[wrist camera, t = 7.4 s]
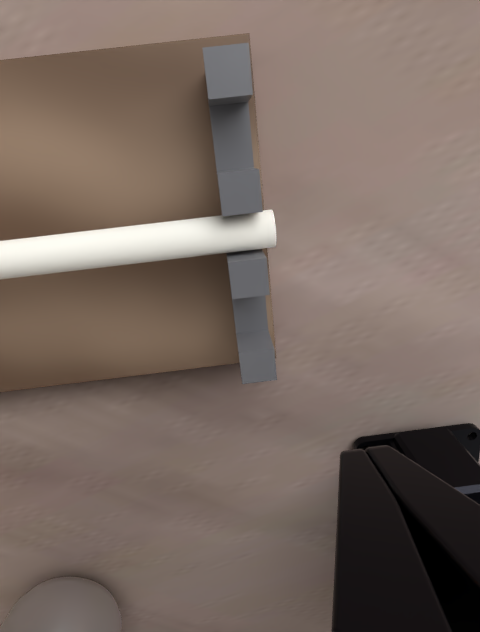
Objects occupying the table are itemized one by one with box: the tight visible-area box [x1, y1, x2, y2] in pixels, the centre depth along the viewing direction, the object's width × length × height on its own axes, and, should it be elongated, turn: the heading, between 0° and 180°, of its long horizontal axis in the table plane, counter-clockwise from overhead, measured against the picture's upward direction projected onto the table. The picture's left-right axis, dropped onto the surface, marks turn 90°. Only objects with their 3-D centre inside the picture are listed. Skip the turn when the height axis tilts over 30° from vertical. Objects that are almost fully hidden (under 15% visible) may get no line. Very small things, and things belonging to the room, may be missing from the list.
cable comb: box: [202, 43, 277, 384], centre depth 14 cm, size 10×1×4 cm, turn 6°
